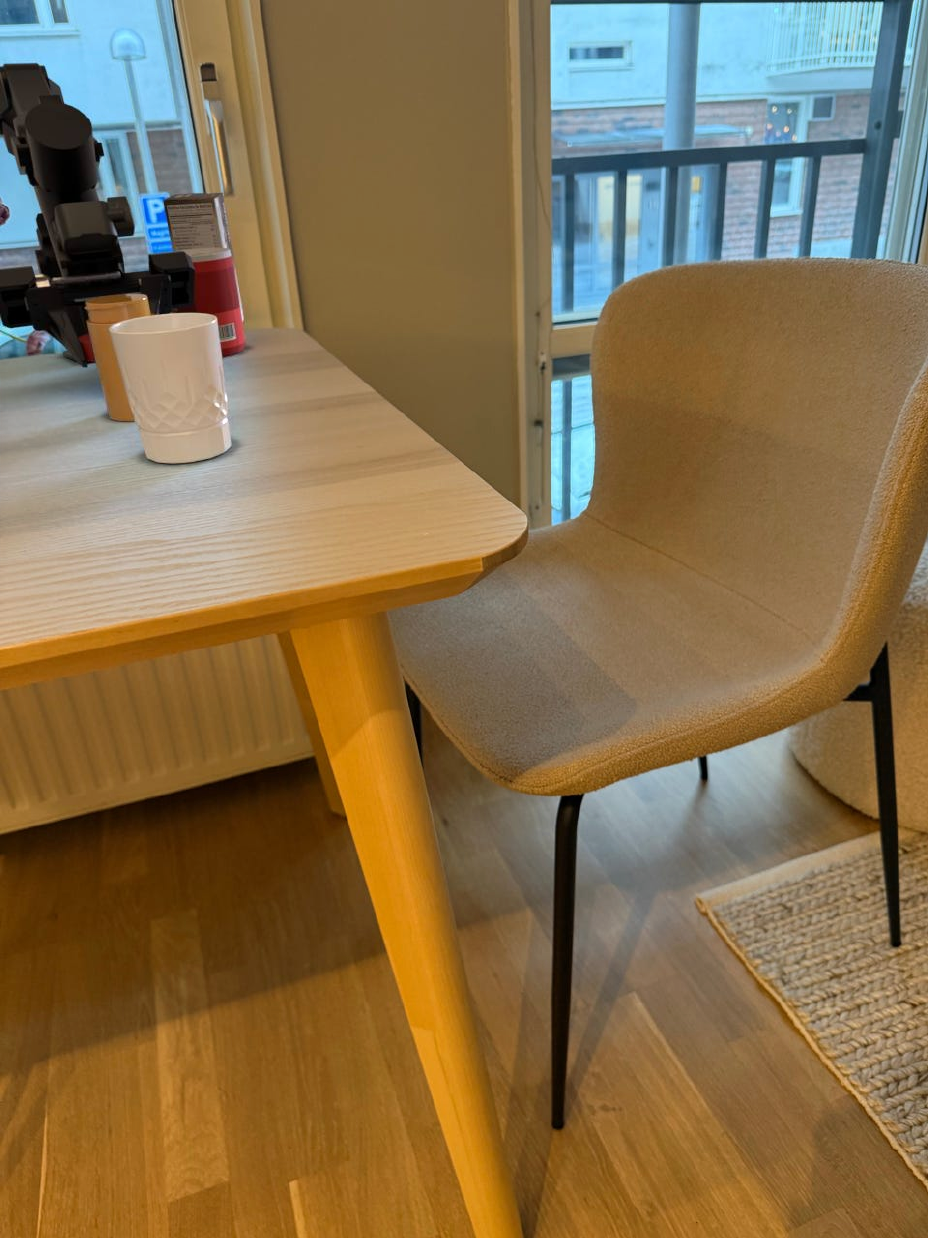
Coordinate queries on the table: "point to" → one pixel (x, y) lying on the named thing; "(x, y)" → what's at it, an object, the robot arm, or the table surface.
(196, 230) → the coffee box
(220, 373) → the white cup
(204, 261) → the canned food
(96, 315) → the jar
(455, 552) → the table surface
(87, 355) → the lid
